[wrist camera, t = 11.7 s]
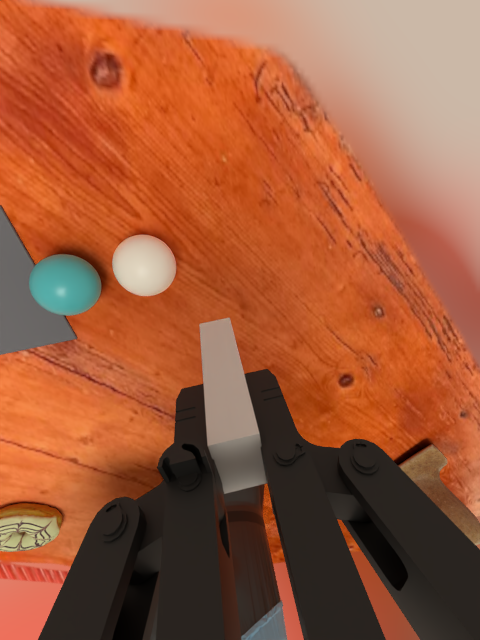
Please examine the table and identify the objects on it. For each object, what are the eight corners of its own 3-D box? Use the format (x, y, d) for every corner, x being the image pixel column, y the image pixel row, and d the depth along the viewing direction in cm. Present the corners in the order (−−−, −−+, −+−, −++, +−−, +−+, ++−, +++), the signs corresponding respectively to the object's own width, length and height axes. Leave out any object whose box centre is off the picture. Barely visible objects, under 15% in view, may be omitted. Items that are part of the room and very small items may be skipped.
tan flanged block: (396, 488, 64) (448, 570, 51) (367, 477, 58) (416, 566, 46) (452, 451, 59) (525, 532, 46) (425, 436, 54) (498, 522, 41)
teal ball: (116, 268, 24) (61, 297, 20) (112, 307, 28) (65, 337, 24) (69, 233, 25) (5, 255, 21) (72, 276, 29) (18, 302, 25)
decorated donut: (62, 529, 50) (53, 555, 47) (-8, 530, 47) (-23, 557, 44) (67, 499, 46) (58, 525, 43) (-10, 497, 42) (-26, 525, 39)
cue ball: (102, 278, 21) (94, 260, 25) (156, 316, 24) (141, 295, 29) (151, 226, 21) (135, 216, 25) (196, 271, 25) (176, 256, 29)
